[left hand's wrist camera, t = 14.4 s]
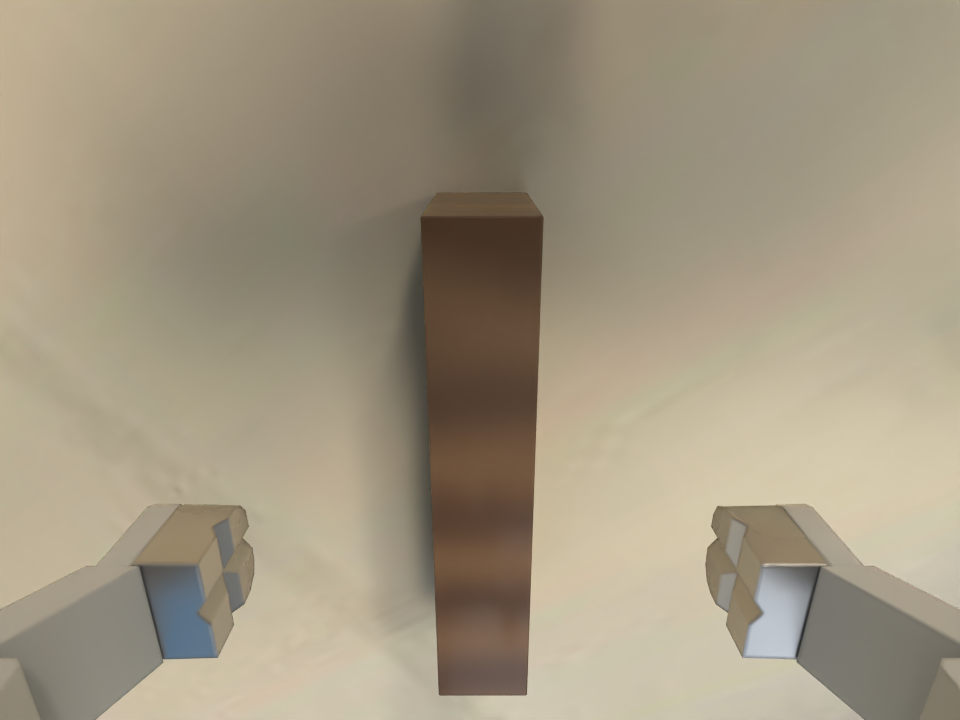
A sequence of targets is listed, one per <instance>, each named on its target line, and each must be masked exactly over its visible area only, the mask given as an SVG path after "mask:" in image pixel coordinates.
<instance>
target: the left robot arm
mask: <svg viewBox="0 0 960 720" xmlns="http://www.w3.org/2000/svg"><path fill="white" fill-rule="evenodd" d="M248 527H249V525H248V520H247V515H246V511H245V509H244V508H242V507H241V506H239V505H192V504H184V505H181V504H155V505H152V506H149V507H147V508H146V509H145V510H144V512H143V513H142V514H141V515H140V516H139V517H138V518H137V520H136V521H135V522H134V523H133V524H132V525H131V526H130V528H129V529H128V530H127V531H126V532H125V533H124V534H123V536H122V537H121V538H120V539H119V540H118V541H117V542H116V543H115V545H114V546H113V547H112V548H111V549H110V550H109V551H108V553H107V554H106V555H105V556H104V557H103V558H102V559H101V561H100V562H99V563H98V564H97V565H96V566H85V567H83V568H81V569H79V570H77V571H75V572H73V573H71V574H69V575H67V576H65V577H63V578H62V579H60V580H58V581H56V582H54V583H52V584H50V585H48V586H46V587H44V588H42V589H40V590H38V591H36V592H34V593H32V594H30V595H28V596H26V597H24V598H22V599H20V600H18V601H16V602H14V603H12V604H10V605H8V606H6V607H4V608H2V609H0V720H96V719H97V718H98V717H99V716H100V715H102V714H103V713H104V712H105V711H106V710H108V709H109V708H110V707H111V706H112V705H113V704H115V703H116V702H117V701H118V700H119V699H121V698H122V697H123V696H124V695H125V694H126V693H128V692H129V691H130V690H131V689H132V688H134V687H135V686H136V685H137V684H138V683H139V682H141V681H142V680H143V679H144V678H145V677H147V676H148V675H149V674H150V673H151V672H152V671H154V670H155V669H156V668H157V667H158V666H160V665H161V664H162V663H163V659H190V658H218V656H219V654H220V652H221V650H222V648H223V646H224V644H225V642H226V640H227V638H228V636H229V634H230V632H231V630H232V628H233V626H234V622H233V617H232V612H234V611H235V610H237V609H238V608H239V607H241V606H242V605H244V603H245V601H246V599H247V597H248V595H249V593H250V590H251V586H252V581H253V576H254V555H253V548H252V547H251V546H250V545H249V544H248V543H247V542H246V541H245V540H244V539H243V536H244V534H245V532H246V530H247V529H248ZM711 527H712V529H713V530H714V532H715V534H716V536H717V539H716V540H715V541H714V542H713V543H712V544H711V545H710V546H709V547H708V549H707V556H706V576H707V583H708V586H709V590H710V593H711V595H712V597H713V599H714V601H715V603H716V605H718V606H719V607H721V608H722V609H723V610H725V611H726V612H728V617H727V622H726V626H727V628H728V630H729V632H730V634H731V636H732V638H733V640H734V642H735V644H736V646H737V648H738V650H739V652H740V654H741V656H742V658H769V659H797V661H796V662H797V663H798V664H800V665H801V666H802V667H803V668H804V669H805V670H807V671H808V672H809V673H810V674H811V675H813V676H814V677H815V678H816V679H817V680H818V681H820V682H821V683H822V684H823V685H824V686H826V687H827V688H828V689H829V690H830V691H831V692H833V693H834V694H835V695H836V696H837V697H838V698H840V699H841V700H842V701H843V702H844V703H846V704H847V705H848V706H849V707H850V708H851V709H853V710H854V711H855V712H856V713H857V714H859V715H860V716H861V717H862V718H863V719H864V720H960V610H959V609H957V608H955V607H953V606H952V605H950V604H948V603H946V602H944V601H942V600H940V599H938V598H936V597H934V596H932V595H930V594H928V593H926V592H924V591H922V590H920V589H918V588H916V587H914V586H912V585H910V584H908V583H906V582H904V581H902V580H900V579H898V578H896V577H895V576H893V575H891V574H889V573H887V572H885V571H883V570H881V569H879V568H877V567H875V566H864V565H863V564H862V563H861V562H860V561H859V559H858V558H857V557H856V556H855V555H854V554H853V553H852V551H851V550H850V549H849V548H848V547H847V546H846V545H845V543H844V542H843V541H842V540H841V539H840V538H839V537H838V536H837V534H836V533H835V532H834V531H833V530H832V529H831V528H830V526H829V525H828V524H827V523H826V522H825V521H824V520H823V518H822V517H821V516H820V515H819V514H818V513H817V512H816V510H815V509H814V508H813V507H811V506H809V505H807V504H785V505H773V506H717V508H716V510H715V512H714V514H713V519H712V525H711Z"/></svg>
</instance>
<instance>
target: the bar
mask: <svg viewBox="0 0 960 720" xmlns="http://www.w3.org/2000/svg"><path fill="white" fill-rule="evenodd" d="M421 239H422V265H423V291H424V318H425V344H426V370H427V396H428V422H429V449H430V475H431V501H432V527H433V554H434V580H435V606H436V632H437V659H438V685H439V695H527V677H528V648H529V619H530V590H531V562H532V533H533V504H534V476H535V447H536V418H537V389H538V361H539V332H540V303H541V274H542V246H543V216H542V214H541V213H540V211H539V210H538V208H537V207H536V205H535V204H534V202H533V201H532V199H531V198H530V197H529V195H528V194H527V193H436V195H435V196H434V198H433V199H432V201H431V202H430V204H429V205H428V207H427V208H426V210H425V212H424V213H423V215H422V216H421Z"/></svg>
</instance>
